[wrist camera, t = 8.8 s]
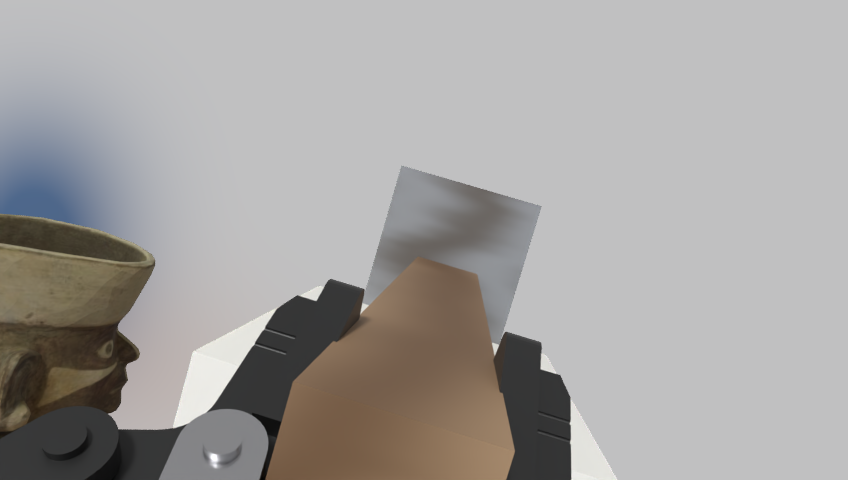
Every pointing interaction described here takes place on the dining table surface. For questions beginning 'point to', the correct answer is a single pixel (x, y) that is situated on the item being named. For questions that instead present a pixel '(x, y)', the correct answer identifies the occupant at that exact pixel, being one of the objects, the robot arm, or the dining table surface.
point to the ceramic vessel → (64, 316)
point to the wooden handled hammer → (417, 348)
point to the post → (227, 352)
